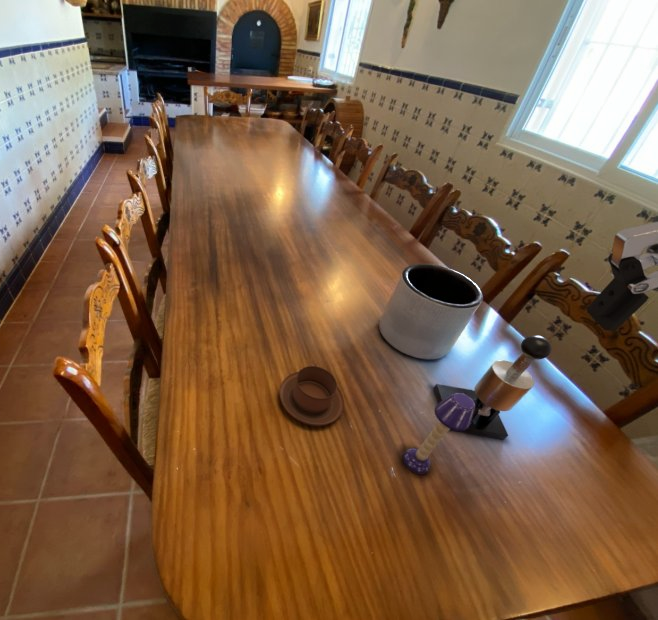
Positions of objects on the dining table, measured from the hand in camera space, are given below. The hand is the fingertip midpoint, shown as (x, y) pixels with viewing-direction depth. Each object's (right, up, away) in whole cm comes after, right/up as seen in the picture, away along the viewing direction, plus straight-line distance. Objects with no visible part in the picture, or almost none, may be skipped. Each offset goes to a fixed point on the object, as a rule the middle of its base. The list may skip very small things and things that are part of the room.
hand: (656, 329), depth 32 cm
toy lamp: (-8, -24, +28) cm, 37 cm away
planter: (+4, -5, +52) cm, 52 cm away
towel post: (+6, -17, +32) cm, 37 cm away
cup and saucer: (-24, -16, +35) cm, 46 cm away
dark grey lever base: (+6, -18, +36) cm, 41 cm away
